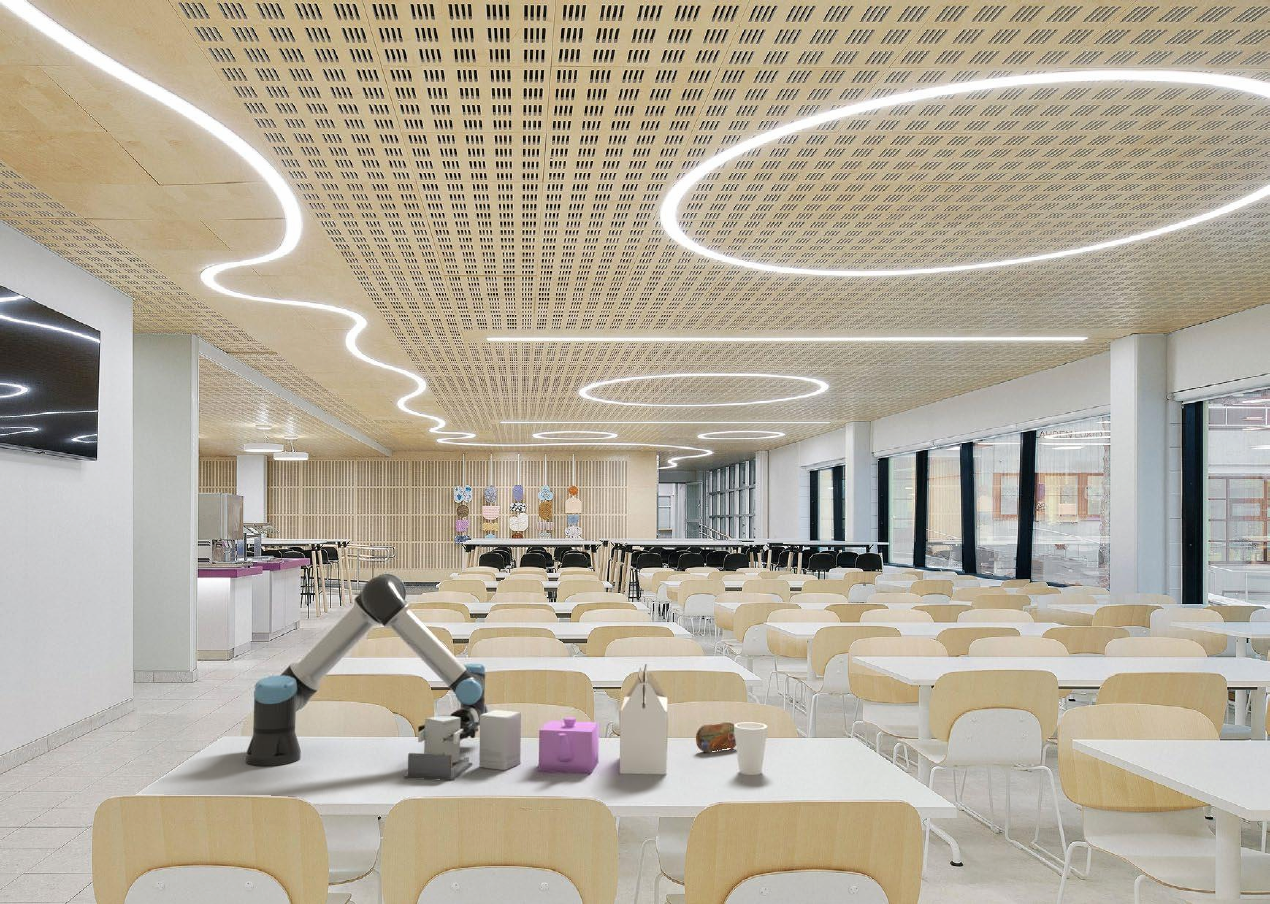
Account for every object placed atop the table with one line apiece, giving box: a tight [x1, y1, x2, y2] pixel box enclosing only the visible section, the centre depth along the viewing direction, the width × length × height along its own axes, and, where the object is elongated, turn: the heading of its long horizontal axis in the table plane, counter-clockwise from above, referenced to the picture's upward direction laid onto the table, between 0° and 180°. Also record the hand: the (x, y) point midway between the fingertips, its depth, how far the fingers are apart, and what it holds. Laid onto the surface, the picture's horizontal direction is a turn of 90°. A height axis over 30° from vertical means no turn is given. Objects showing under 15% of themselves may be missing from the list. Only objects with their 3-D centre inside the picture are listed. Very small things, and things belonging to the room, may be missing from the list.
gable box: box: [619, 663, 669, 776], centre depth 287 cm, size 22×13×28 cm, turn 178°
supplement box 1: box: [423, 714, 461, 763], centre depth 278 cm, size 7×7×13 cm
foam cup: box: [734, 721, 768, 776], centre depth 279 cm, size 10×9×13 cm
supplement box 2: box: [478, 709, 522, 771], centre depth 283 cm, size 9×9×15 cm
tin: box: [695, 722, 736, 754], centre depth 304 cm, size 15×3×8 cm, turn 120°
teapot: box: [538, 716, 600, 775], centre depth 281 cm, size 15×25×14 cm, turn 173°
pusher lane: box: [403, 752, 473, 781], centre depth 276 cm, size 14×17×7 cm
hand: (437, 738), depth 274 cm, fingers closed on supplement box 1, 10 cm apart
